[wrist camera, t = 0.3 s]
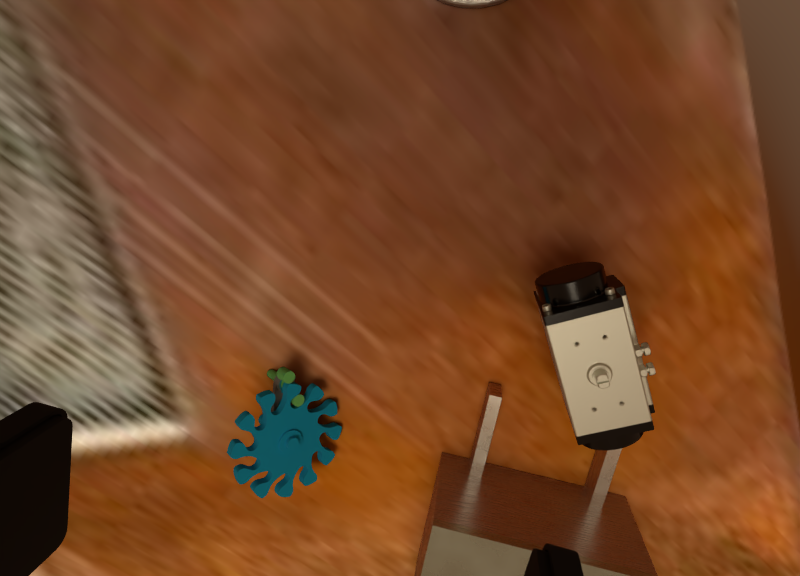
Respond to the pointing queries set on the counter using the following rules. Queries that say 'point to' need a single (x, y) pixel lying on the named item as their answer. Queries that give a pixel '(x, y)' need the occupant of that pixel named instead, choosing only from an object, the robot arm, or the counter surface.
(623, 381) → the pneumatic valve
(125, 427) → the counter surface
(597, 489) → the motor
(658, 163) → the counter surface
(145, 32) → the counter surface
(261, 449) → the teal lobed piece
